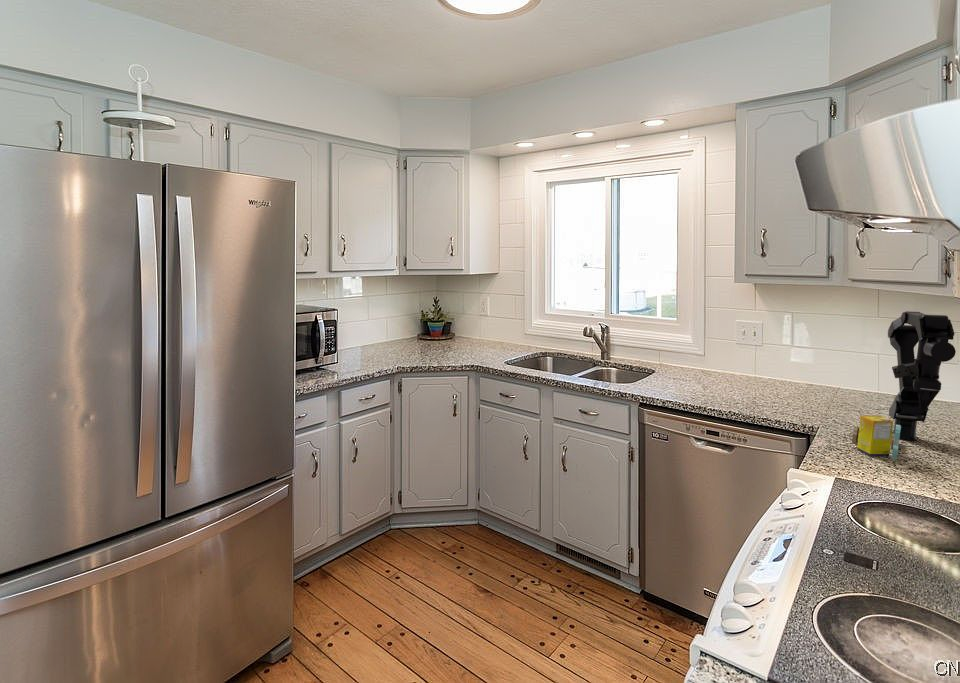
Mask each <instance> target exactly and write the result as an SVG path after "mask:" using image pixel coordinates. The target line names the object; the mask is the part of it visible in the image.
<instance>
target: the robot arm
mask: <svg viewBox="0 0 960 683" xmlns="http://www.w3.org/2000/svg"><path fill="white" fill-rule="evenodd" d="M954 336H955V331H954V326H953V323H952V322H951V319H950V318H949V317H948V315H946V314H945V315H944V314H926V313H923V312H920V311H910V310H909V311H908V310H907V311H906V310H905V311H903V312H902V313H901V316H899V317H897V318H896V319H894V320H892V321H891V323H890V326H889V327H888V330H887V338H888V339H889V343H890V346H892V348H893V349H894V350H895V351H896V358H897V365H893V366H892V367H891V370H892V372H893V373H892V374H893V377H894V378H895V379H898V386H899V388H898V389H899V392H898V393H897V394H896V396H895V397H894V401H893V402H892V404H891V405H890V407H889V409H888V417H890V418H891V420H894V423H893V426H894V427H893V431H892V433H895V428H896V425H901V430H900V438H899V440H908V441H913V442H917V441H918V438H917V437H918V436H917V435H916V432H917V424H918V422H921V423H922V422H923V423H924V422H925V420H926V419H927V415H928V411H929V406H930V405H931V403H932V402H933V401H934V399H935V398H936V396H937V395H938V394H939V393H940V391H942V390H941V389H942V382H941V381H940V369H941V365H942V363H944V362H949V361H951V360H953V358H955V356H956V352H957V351H956V348H955V346H954V345H953V343H950V342H949V340H951V341H953V340H954ZM917 344H918V345H917ZM916 346H917V353H916V357H915V347H916Z"/></svg>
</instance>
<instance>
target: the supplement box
mask: <svg viewBox="0 0 960 683" xmlns="http://www.w3.org/2000/svg"><path fill="white" fill-rule="evenodd" d="M859 417H860V418H859V419H860V420H859V427H858V428H859V435H858V438H857V444H856V445H857V446H856V451H858V452H860V453H862V454H864V455H865V456H869V457H890V453H891V436H892V432H893V428H894V427H893V426H894V419H890V418H887V417H885V416H882V415H862V414H861V415H860V416H859Z"/></svg>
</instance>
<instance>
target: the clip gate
mask: <svg viewBox="0 0 960 683" xmlns="http://www.w3.org/2000/svg"><path fill="white" fill-rule="evenodd" d="M900 430H901V425H896V428H895V435H894V445H893V450H892V452H891V460H895V461H897V460H898V454H899V443H900Z"/></svg>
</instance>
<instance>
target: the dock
mask: <svg viewBox="0 0 960 683" xmlns="http://www.w3.org/2000/svg"><path fill="white" fill-rule="evenodd" d="M858 435H859V427H857V426H854V427H853V431H852V438H851V443H852V444H856V443H857V440H858ZM894 435H895V433H892V436H891V445H890V451H891V450H892V451H893V445H894ZM856 445H857V444H856Z"/></svg>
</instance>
